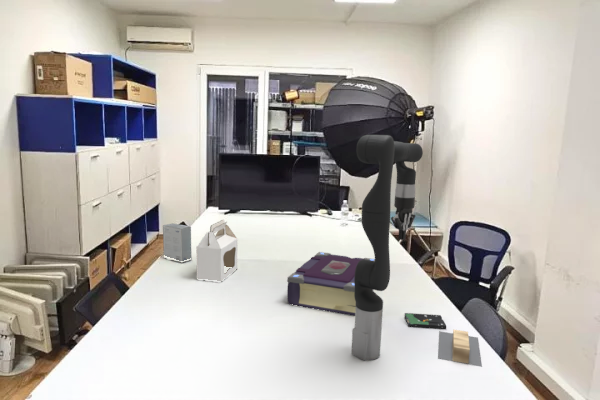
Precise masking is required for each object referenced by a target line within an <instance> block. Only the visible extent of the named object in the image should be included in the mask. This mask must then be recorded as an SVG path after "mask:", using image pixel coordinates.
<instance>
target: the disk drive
mask: <svg viewBox="0 0 600 400" xmlns="http://www.w3.org/2000/svg"><path fill="white" fill-rule="evenodd" d="M404 320H405V323H406V325H407V327H408V328H412V329H415V328H416V329H429V330H431V329H433V330H447V325H446V323H445V320H444V319H443V317H442V316H441V314H428V313H411V312H404Z"/></svg>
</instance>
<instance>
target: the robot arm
mask: <svg viewBox="0 0 600 400" xmlns="http://www.w3.org/2000/svg"><path fill="white" fill-rule="evenodd" d="M355 150H356V151H355V152H356V156H357V159H358V160H359V161H360V162H362V163H364V164H368V165H369V164H370V165H379V167H378V168H379V169H378V175H377V177H376V181H374V184H373V185H372V187H371V188H370V190H369V191H368V193H367V194H366V195H365V198H364V199H363V201H362V204H361V226H362V229H363V231H364V234H365V235H366V237H367V240H368V241H369V243H370V244H371V247H372V250H373V253H374V259H375V261H371V260H367V259H364V258H363V259H362V260H360V261H359V262H358V264H357V266H356V269H355V277H354V284H355V293H354V296H355V301H356V308H355V316H354V327H353V328H352V329H351V332H352V335H351V351H350V352H351V353H350V354H351V355H353V356H355V357H356V358H358V359H360V360H362V361H363V362H365V361H373V360H377V359H378V358H380V356H381V354H380V353H381V346H382V345H381V344H382V343H381V342H382V341H381V340H382V327H383V312H384V300H383V299H382V297H381V296H379V295H378V294H377V293H376V292H375V291H378V292H383V291H385V290H386V289H387V288H388V286H389V284H390V277H391V263H390V262H391V260H390V228H391V227H390V226H391V222H392V224H393V227H394V228H395V229H396V230H398V240H401V241H404V240H406V238H407V237H406V236H407V230H408V229H410V228H411V227H412V225H413V222H414V220H415V218H416V214H413V209H414V208H415V200H416V178H417V177H416V176H417V171H416V169H415V168H411V167H408V166H407V165H406V163H417V162H419V161H420V160H421V159H422V158H423V153H424V150H423V148H422V146H421V144H419V143H413V142H402V141H395V140H394V138H393V136H391V135H389V134H366V135H363V136H361V137H360V138H359V139H358V141H357V144H356V149H355ZM394 162H395V163H394ZM405 162H406V163H405ZM394 164H395V167H396V184H395V190H394V191H395V192H394V203H393V204H394V205H393V206H394V208H396V210H395V215H394V216H392V217H391V203H392V202H391V200H392V199H391V196H392V195H391V192H392V178H393V167H394ZM372 289H373V290H372Z"/></svg>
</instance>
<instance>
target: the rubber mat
mask: <svg viewBox="0 0 600 400" xmlns="http://www.w3.org/2000/svg"><path fill="white" fill-rule="evenodd" d="M468 337H469V348H470V352H469V362H468V363H462V362H457V361H453V356H452V340H453V332H446V331H441V330H440V331H439V332H438V344H437V345H438V349H437V360H442V361H448V362H453V363H459V364H465V365H471V366H475V367H481V368H482V367H483V364H482V357H481V356H482V355H481V350H480V342H479V337H477V336H471V335H468Z"/></svg>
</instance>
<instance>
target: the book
mask: <svg viewBox="0 0 600 400" xmlns="http://www.w3.org/2000/svg"><path fill="white" fill-rule="evenodd" d="M362 259H367V260H371V261H375V258H370V257H364V258H363V257H362V258H361V257H349V256H347V255H339V254H332V253H330V252H323V251H318V252H317V253H316V254H315V255H313V256H312V257H310V259H309V260H307V261H306V262H304V263H303V264H301V266H300V267H298V268H297V269H296V270H295V271H294V272H292V273H291V274H290V275H288V276H287V280H286V281H287V290H286V291H287V294H286V297H287V304H288V305H290V304H293V305H292V306H294V305H297V306H296V307H300V306H303V307H302V308H306V307H308V308H307V309H312V308H314V309H313V310H317V309H319V310H318V311H323V310H325V311H324V312H329V311H330V313H334V312H335V314H340V315H341V314H342V315H348V316H352V317H353V316H354V317H355V308H356V301H355V296H354V293H355V284H354V277H355V269H356V266H357V264H358V262H359V261H360V260H362ZM372 290H373V289H372ZM373 291H374V290H373Z"/></svg>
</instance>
